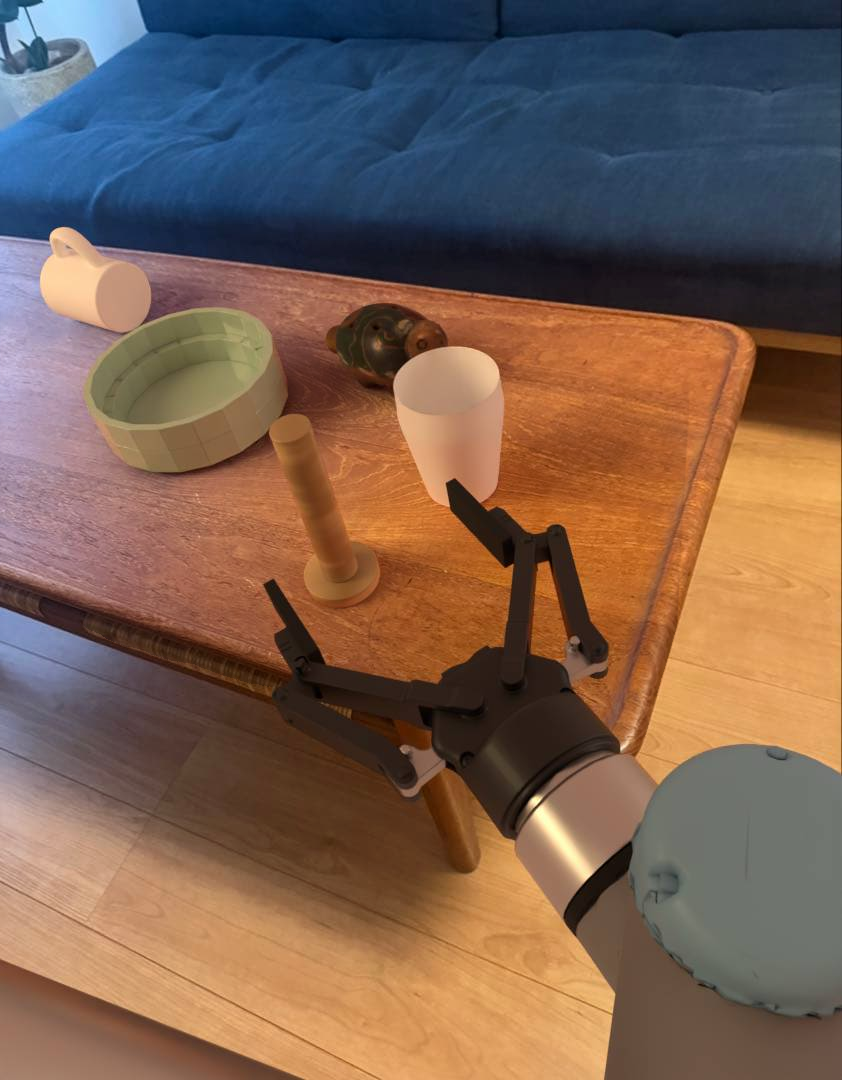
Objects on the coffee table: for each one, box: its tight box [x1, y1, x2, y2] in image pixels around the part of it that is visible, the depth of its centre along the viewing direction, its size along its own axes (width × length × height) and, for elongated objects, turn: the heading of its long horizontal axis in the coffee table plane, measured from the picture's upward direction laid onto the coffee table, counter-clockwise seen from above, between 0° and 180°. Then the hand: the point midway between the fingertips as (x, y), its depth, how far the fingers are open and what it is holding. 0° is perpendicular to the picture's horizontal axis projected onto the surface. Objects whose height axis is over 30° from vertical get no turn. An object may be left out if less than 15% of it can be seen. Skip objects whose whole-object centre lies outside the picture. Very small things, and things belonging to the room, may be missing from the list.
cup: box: [393, 346, 505, 508], centre depth 71 cm, size 9×9×12 cm
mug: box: [39, 226, 152, 334], centre depth 99 cm, size 8×10×12 cm
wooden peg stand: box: [268, 413, 381, 609], centre depth 64 cm, size 6×6×17 cm
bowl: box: [82, 306, 289, 473], centre depth 85 cm, size 20×20×6 cm
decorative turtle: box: [325, 302, 449, 397], centre depth 84 cm, size 10×15×8 cm, turn 63°
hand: (365, 542), depth 54 cm, fingers open, 13 cm apart
